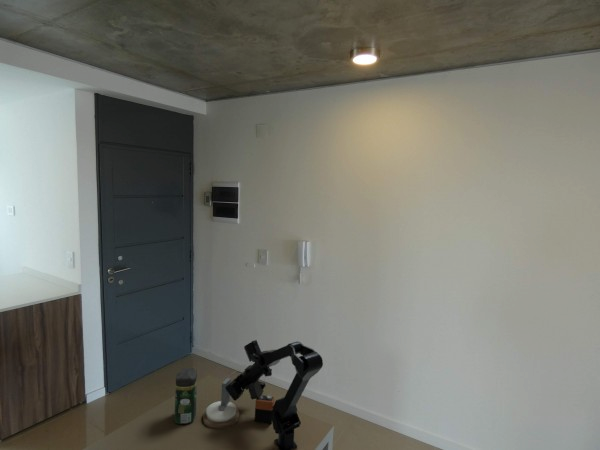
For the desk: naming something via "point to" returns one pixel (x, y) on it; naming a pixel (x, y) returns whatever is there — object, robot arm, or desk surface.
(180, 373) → the coffee jar
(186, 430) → the desk surface
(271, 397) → the battery
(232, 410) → the dial
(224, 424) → the dial base
